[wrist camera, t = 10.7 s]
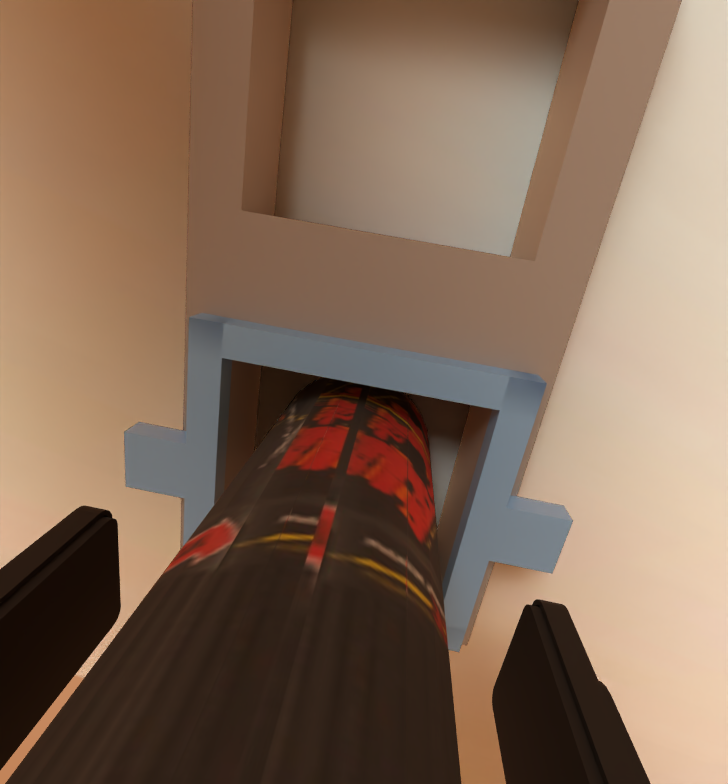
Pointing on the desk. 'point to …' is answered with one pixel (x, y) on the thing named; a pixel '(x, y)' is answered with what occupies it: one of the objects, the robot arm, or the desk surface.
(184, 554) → the deodorant
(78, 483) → the desk surface
